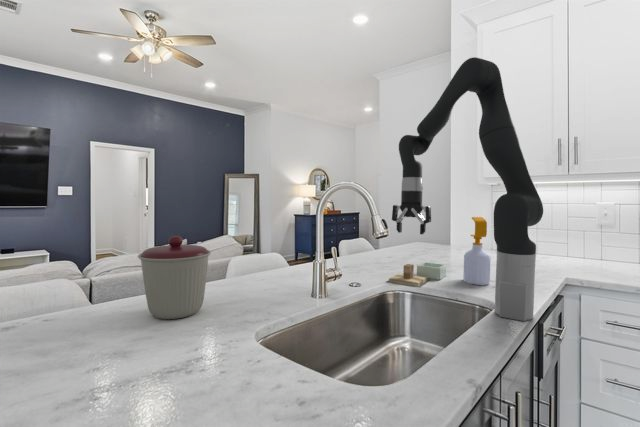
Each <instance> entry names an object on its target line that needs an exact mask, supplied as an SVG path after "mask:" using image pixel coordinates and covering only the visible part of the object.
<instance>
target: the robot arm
mask: <svg viewBox="0 0 640 427" xmlns="http://www.w3.org/2000/svg"><path fill="white" fill-rule="evenodd" d="M504 91H505V90H504V86H503V81H502V76H501V71H500V69H499V66H498V65H497V64H496V63H495V62H493V61H489V60H487V59H483V58H480V57H475V56H474V57H469V58H468V59H465V60H464V61H463V62H462V64H461V65H460V66H459V67H458V68H457V70H456V71H455V73H454V75H453V76H452V78H451V79H450V81H449V83H448V84H447V86H446V87H445V89H444V90H443V93H442V94H441V96H440V97H439V99H438V100H437V102H436V103H435V104H434V105H433V107H432V109H431V110H430V111H429V112H428V113H427V114H426V116H425V117H424V118H423V119H422V120H421V121H420V123H419V124H418V125H417V127H416V131H417V134H418V135H412V134H405V135H403V136H402V137H401V138H400V140H399V143H398V152H399V157H400V161H401V165H402V179H401V194H400V195H401V196H400V200H401V203H400V205H398V204H393V205H392V211H391V221H393V222H395V223H396V231H397V233H399V234H400V233H403V232H402V229H403V221H404V219H405V218H416V219H417V220H418V221H419V222H420V226H419V229H420V230H419V235H424V234H425V233H426V229H427V228H426V225H427V224H429V223H431V222H432V208H431V207H432V206H431V205H428V206H423V191H424V190H423V189H424V187H423V164H422V162H421V161H419V160H416V158H415V156H421V155H424V153H426V152H427V151H428V150H429V149H430V146H431V144H432V142H433V140H434V138H435V137H436V136H437V135H438V134H439V132H441V131H442V130H443V128H444V127H445V126H446V125H447V124H448V122H449V121H450V118H451V116H452V112H453V109H454V107H455V105H456V103H457V101H459V99H460V98H462V97H463V96H464V95H465V94H466V93H467V92H470V93H475V94H476V96H477V98H478V100H479V104H480V107H481V118H480V123H479V129H478V137H479V138H478V139H479V141H480V144H481V148H482V151H483V154H484V156H485V158H486V160H487V162H488V163H489V164H490V166H491V167H492V168H493V170H494V171H495V172H496V174H497V175H498V176H499V178H500V179H501V182H502V183H503V185H504V187H505V190H506V193H505V194H502V195H501V196H500V197H498V198H497V200H496V201H495V204H494V209H493V238H494V242H495V244H496V262H495V263H496V264H495V265H496V266H495V286H494V287H495V289H494V291H495V293H494V313H495V314H497V315H498V318H499V317H500V318H505V319H510V320H516V321H521V322H526V321H530V320H532V319H533V318H534V308H535V307H534V306H535V305H534V304H535V286H536V284H535V280H536V260H537V258H536V256H537V244H536V243H535V242H534V241H533V240H531V239H530V237H529V227H532V226H536V225H537V224H539V222H540V221H541V220H542V218H543V214H544V205H543V202H542V200H541V197H540V195H539V193H538V191H537V189H536V187H535V185H534V182H533V180H532V178H531V175H530V172H529V170H528V166H527V164H526V160H525V157H524V154H523V151H522V149H521V145H520V141H519V138H518V137H519V136H518V134H517V132H516V128H515V125H514V122H513V120H512V117H511V113H510V111H509V107H508V104H507V100H506V96H505V93H504ZM400 210H401V213H400V215H399V211H400ZM422 212H425V218H424V215H422ZM398 215H399V216H398Z"/></svg>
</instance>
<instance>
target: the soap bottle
mask: <svg viewBox="0 0 640 427" xmlns="http://www.w3.org/2000/svg"><path fill="white" fill-rule="evenodd" d="M471 220H473V221H474V234H470V237H473V239H474V242H472V248H471V249H469V250H467V251H466V252H465V253H464V255H463V277H462V278H463V279H462V280H463V282H465V283H468V284H471V285H474V286H475V285H476V286H485V285H486V286H487V285H489V284H490V280H491V279H490V278H491V276H490V275H491V256H490V254H489V253H488V252H487V251H485V250H484V249H483V243H482V242H481V240H483V238H486V237H487V235H488V234H487V232H488V230H487V229H488V222H487V220H486V219H485V218H484V217H482V216H472V217H471Z"/></svg>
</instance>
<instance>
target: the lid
mask: <svg viewBox="0 0 640 427" xmlns="http://www.w3.org/2000/svg"><path fill="white" fill-rule="evenodd" d="M414 267H415V265H414V264H411V263H406V264H404V265H403V273H402V272H401V273H398V274H395V275H393V276H392V277H389V278H388V280H389V282H393V283H392V284H394V283H400V284H399V285H401V284H406V285H405V286H407V285H413V286H419V285H421V284H422V283H424V282H425V281H427V280H429V279H428V277H424V276H417V274H416V275H415V274H414V271H415V270H414V269H415V268H414ZM413 286H412V287H413Z"/></svg>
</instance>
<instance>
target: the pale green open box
mask: <svg viewBox="0 0 640 427" xmlns="http://www.w3.org/2000/svg"><path fill="white" fill-rule="evenodd" d="M416 276H424V277H428V280H434V281H442V280H443V279H444V278H445V277H447V264H444V263H437V262H427V261H423V262H421V263H419V264H417V265H416Z"/></svg>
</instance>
